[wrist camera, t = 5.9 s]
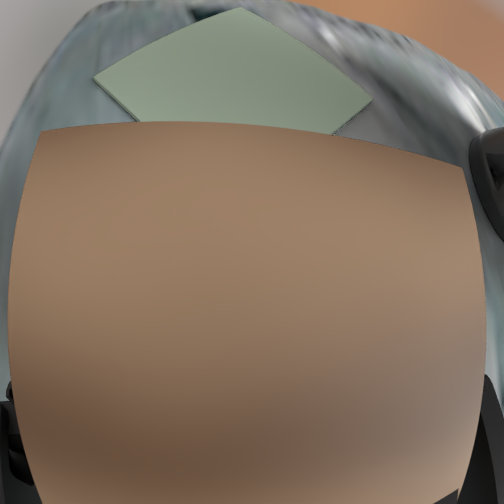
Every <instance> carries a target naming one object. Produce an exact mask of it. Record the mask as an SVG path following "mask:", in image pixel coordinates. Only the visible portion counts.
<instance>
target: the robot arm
mask: <svg viewBox="0 0 504 504" xmlns="http://www.w3.org/2000/svg"><path fill="white" fill-rule="evenodd" d="M470 164H471V169H472V174H473V178H474V181H475V185H476V188H477V191H478V193H479V196H480V199H481V201H482V204H483V206H484V208H485V211H486V213H487V215H488V217H489V219H490V221H491V223H492V224H493V226H494V228H495V229H496V231H497V232H498V234H499V235H500V237H501V238H502V239H503V240H504V127H501V128H496V129H491V130H487V131H485V132H483V133H482V134H480V135H479V136H478V137H476V138H475V139H474V140H473V141H472V143H471V145H470ZM6 397H7V398H8V399H9V400H10V401H1V402H0V504H43V503H42V501H41V498H40V496H39V493H38V491H37V488H36V485H35V482H34V479H33V476H32V473H31V470H30V467H29V464H28V461H27V457H26V454H25V450H24V446H23V442H22V438H21V434H20V430H19V425H18V420H17V415H16V410H15V404H14V398H13V391H12V383H11V381H10V382H9V384H8V387H7V389H6ZM458 489H459V488H458ZM458 489H457V490H455V491H453V492H452V493H450V494H449V495H447V496H445V497H444V498H442V499H440V500H439V501H437V502H435V503H433V504H504V417H503V414H502V411H501V408H500V404H499V401H498V398H497V395H496V392H495V390H494V387H493V384H492V382H491V380H490V378H489V377H488V376H487V375H486V374H484V385H483V394H482V402H481V409H480V415H479V421H478V426H477V432H476V436H475V441H474V446H473V450H472V454H471V458H470V462H469V465H468V469H467V472H466V476H465V479H464V482H463V485H462V488H461V491H460V494H459V497H458ZM457 498H458V500H457Z"/></svg>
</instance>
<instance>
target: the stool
mask: <svg viewBox="0 0 504 504" xmlns="http://www.w3.org/2000/svg"><path fill="white" fill-rule="evenodd" d="M8 351H9V364H10V375H11V383H12V391H13V398H14V404H15V410H16V415H17V420H18V425H19V430H20V434H21V438H22V442H23V446H24V450H25V454H26V457H27V461H28V464H29V467H30V470H31V473H32V476H33V479H34V482H35V485H36V488H37V491H38V493H39V496H40V498H41V501H42V503H43V504H433V503H435V502H437V501H439V500H440V499H442V498H444V497H445V496H447V495H449V494H450V493H452V492H453V491H455V490H457V489H458V488H459V489H458V497H459V494H460V491H461V488H462V485H463V482H464V479H465V476H466V472H467V469H468V465H469V462H470V458H471V454H472V450H473V446H474V441H475V436H476V432H477V426H478V421H479V415H480V409H481V402H482V394H483V385H484V374H485V359H486V302H485V287H484V276H483V266H482V258H481V251H480V244H479V238H478V232H477V227H476V222H475V217H474V212H473V207H472V203H471V199H470V195H469V191H468V187H467V183H466V179H465V176H464V172H463V169H462V168H461V167H458V166H455V165H452V164H449V163H446V162H443V161H440V160H436V159H433V158H430V157H426V156H423V155H419V154H416V153H412V152H408V151H404V150H400V149H396V148H392V147H388V146H384V145H380V144H375V143H371V142H366V141H361V140H356V139H351V138H346V137H341V136H335V135H329V134H323V133H317V132H310V131H303V130H296V129H288V128H280V127H271V126H261V125H250V124H237V123H220V122H194V121H150V122H125V123H109V124H96V125H86V126H77V127H68V128H60V129H53V130H47V131H41V133H40V136H39V139H38V141H37V144H36V147H35V150H34V154H33V157H32V160H31V163H30V167H29V170H28V174H27V177H26V181H25V185H24V189H23V193H22V197H21V202H20V207H19V211H18V216H17V222H16V227H15V233H14V240H13V247H12V255H11V264H10V274H9V288H8ZM457 500H458V498H457Z"/></svg>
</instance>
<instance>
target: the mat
mask: <svg viewBox="0 0 504 504" xmlns="http://www.w3.org/2000/svg"><path fill="white" fill-rule="evenodd" d="M93 78H94V80H95V82H96V83H97V84H98V85H99V86H100V87H101V88H102V89H104V90H105V91H106V92H107V93H108V94H109V95H110V96H111V97H112V98H113V99H114V100H115V101H116V102H117V103H118V104H119V105H121V106H122V107H123V108H124V109H125V110H126V111H127V112H128V113H129V114H130V115H131V116H132V117H133V118H134V119H135V120H136V121H137V122H150V121H194V122H220V123H237V124H250V125H261V126H271V127H280V128H288V129H296V130H303V131H310V132H317V133H323V134H329V135H332V134H333V133H334V132H336V131H337V130H338V129H339V128H340V127H341V126H343V125H344V124H345V123H346V122H347V121H349V120H350V119H351V118H352V117H353V116H355V115H356V114H357V113H358V112H359V111H361V110H362V109H363V108H364V107H366V106H367V105H368V104H369V103H370V102H371V101H372V100H373V99H374V98H373V97H372V96H371V95H369V94H368V93H367V92H366V91H365V90H364V89H362V88H361V87H360V86H359V85H358V84H357V83H355V82H354V81H353V80H352V79H351V78H349V77H348V76H347V75H346V74H344V73H343V72H342V71H341V70H339V69H338V68H337V67H335V66H334V65H333V64H331V63H330V62H329V61H327V60H326V59H325V58H323V57H322V56H321V55H319V54H318V53H316V52H315V51H313V50H312V49H311V48H309V47H308V46H306V45H305V44H303V43H302V42H300V41H299V40H297V39H296V38H294V37H293V36H291V35H289V34H288V33H286V32H285V31H283V30H281V29H280V28H278V27H276V26H275V25H273V24H271V23H270V22H268V21H266V20H264V19H263V18H261V17H259V16H257V15H255V14H254V13H252V12H250V11H248V10H246V9H244V8H242V7H238V8H235V9H232V10H229V11H226V12H223V13H220V14H217V15H215V16H212V17H209V18H206V19H204V20H201V21H199V22H196V23H194V24H191V25H189V26H187V27H184V28H182V29H180V30H177V31H175V32H173V33H171V34H169V35H166V36H164V37H162V38H160V39H158V40H156V41H154V42H152V43H150V44H148V45H146V46H144V47H142V48H141V49H139V50H137V51H135V52H133V53H131V54H130V55H128V56H126V57H124V58H123V59H121V60H119V61H118V62H116V63H114V64H113V65H111V66H109V67H108V68H106V69H105V70H103V71H102V72H100V73H98V74H97V75H95V76H94V77H93Z"/></svg>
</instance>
